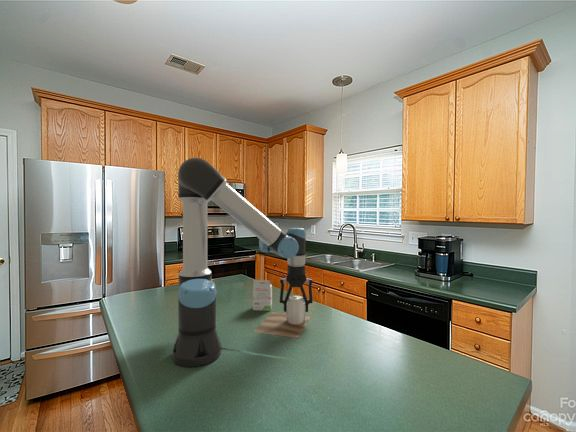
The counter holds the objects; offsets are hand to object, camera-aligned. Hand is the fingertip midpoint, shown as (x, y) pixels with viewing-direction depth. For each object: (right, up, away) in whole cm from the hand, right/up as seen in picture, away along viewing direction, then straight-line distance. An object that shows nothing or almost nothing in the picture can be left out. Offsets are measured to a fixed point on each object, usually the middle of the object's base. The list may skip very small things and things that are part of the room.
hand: (295, 319), depth 119 cm
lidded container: (0, -1, 0) cm, 1 cm away
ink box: (-15, -1, +15) cm, 22 cm away
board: (-5, -1, -3) cm, 6 cm away
